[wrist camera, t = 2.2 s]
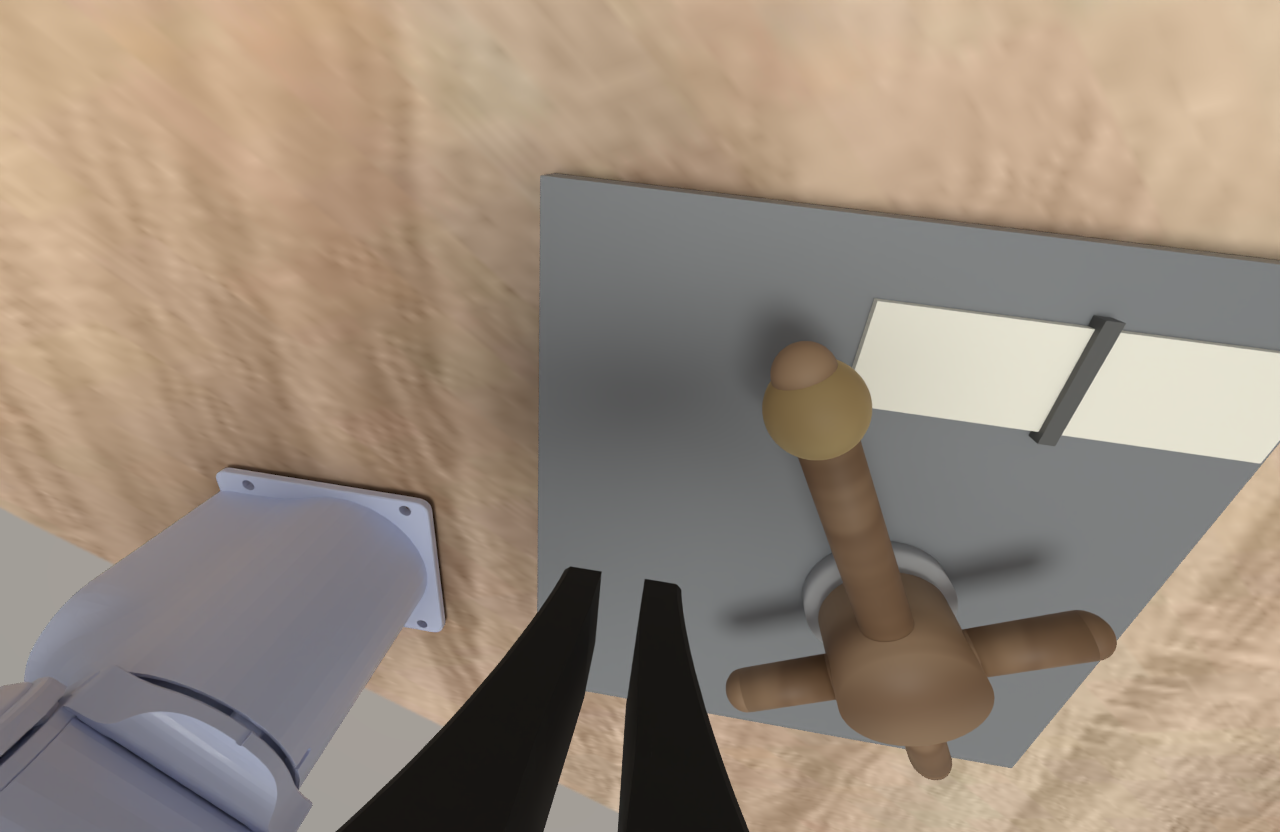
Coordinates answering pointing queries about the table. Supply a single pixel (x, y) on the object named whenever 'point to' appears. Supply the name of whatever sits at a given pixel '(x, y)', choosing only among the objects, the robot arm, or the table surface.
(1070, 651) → the capstan dial
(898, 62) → the table surface
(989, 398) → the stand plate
